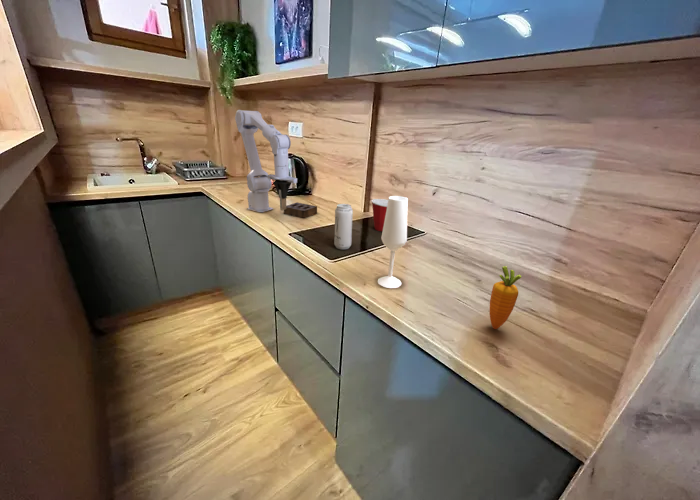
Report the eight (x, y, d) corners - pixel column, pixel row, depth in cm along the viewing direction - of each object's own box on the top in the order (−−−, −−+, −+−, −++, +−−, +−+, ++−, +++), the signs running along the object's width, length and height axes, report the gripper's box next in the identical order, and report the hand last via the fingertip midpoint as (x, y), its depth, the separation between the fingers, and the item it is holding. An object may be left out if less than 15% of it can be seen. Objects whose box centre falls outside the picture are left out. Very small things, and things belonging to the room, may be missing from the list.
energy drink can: (332, 244, 109) (332, 203, 103) (347, 242, 111) (349, 202, 105) (337, 250, 104) (338, 208, 98) (353, 249, 106) (355, 207, 100)
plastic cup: (396, 234, 122) (399, 205, 118) (369, 233, 122) (371, 203, 118) (393, 225, 132) (396, 198, 127) (368, 224, 132) (370, 197, 128)
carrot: (511, 335, 65) (530, 274, 60) (489, 336, 65) (506, 274, 59) (499, 321, 70) (515, 263, 64) (478, 322, 70) (493, 263, 64)
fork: (279, 210, 132) (278, 189, 128) (285, 208, 135) (284, 188, 131) (281, 210, 132) (280, 190, 128) (287, 208, 134) (286, 188, 131)
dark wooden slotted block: (283, 213, 142) (283, 206, 140) (297, 209, 150) (296, 202, 149) (304, 218, 137) (304, 210, 135) (317, 213, 145) (317, 206, 143)
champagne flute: (406, 285, 84) (417, 200, 75) (386, 290, 81) (395, 202, 72) (392, 274, 89) (400, 194, 80) (373, 279, 86) (379, 196, 77)
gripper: (261, 164, 126) (263, 197, 131) (288, 168, 119) (290, 202, 125) (273, 163, 131) (274, 194, 137) (300, 166, 125) (300, 199, 131)
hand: (282, 198), depth 131 cm, fingers closed on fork, 1 cm apart
